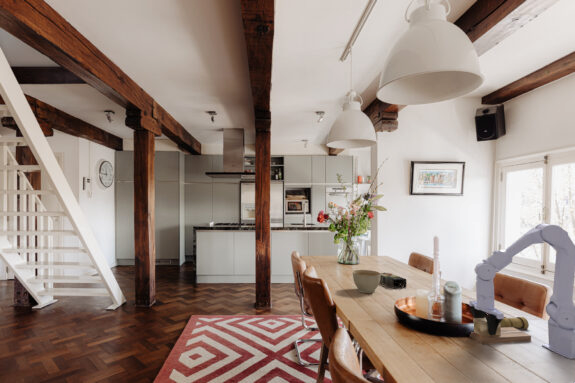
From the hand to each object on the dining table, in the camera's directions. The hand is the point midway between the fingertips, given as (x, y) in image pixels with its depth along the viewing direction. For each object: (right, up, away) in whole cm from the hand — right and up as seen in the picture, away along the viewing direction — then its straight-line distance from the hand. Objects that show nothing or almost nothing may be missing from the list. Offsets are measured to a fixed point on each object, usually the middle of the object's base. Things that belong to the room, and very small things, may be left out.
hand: (486, 331), depth 115 cm
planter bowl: (-29, -6, +63) cm, 69 cm away
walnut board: (+5, -3, 0) cm, 6 cm away
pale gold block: (0, -1, 0) cm, 1 cm away
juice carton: (-9, -7, +78) cm, 79 cm away
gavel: (+17, -4, +18) cm, 25 cm away
